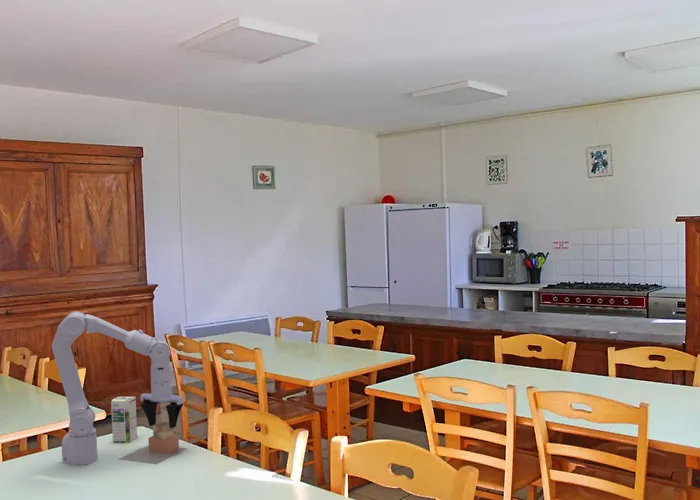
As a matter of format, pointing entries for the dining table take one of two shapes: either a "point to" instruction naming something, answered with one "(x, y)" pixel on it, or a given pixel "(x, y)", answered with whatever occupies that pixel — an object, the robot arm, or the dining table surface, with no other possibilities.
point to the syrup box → (124, 419)
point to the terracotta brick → (164, 444)
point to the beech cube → (162, 431)
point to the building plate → (149, 456)
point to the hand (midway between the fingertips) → (162, 426)
